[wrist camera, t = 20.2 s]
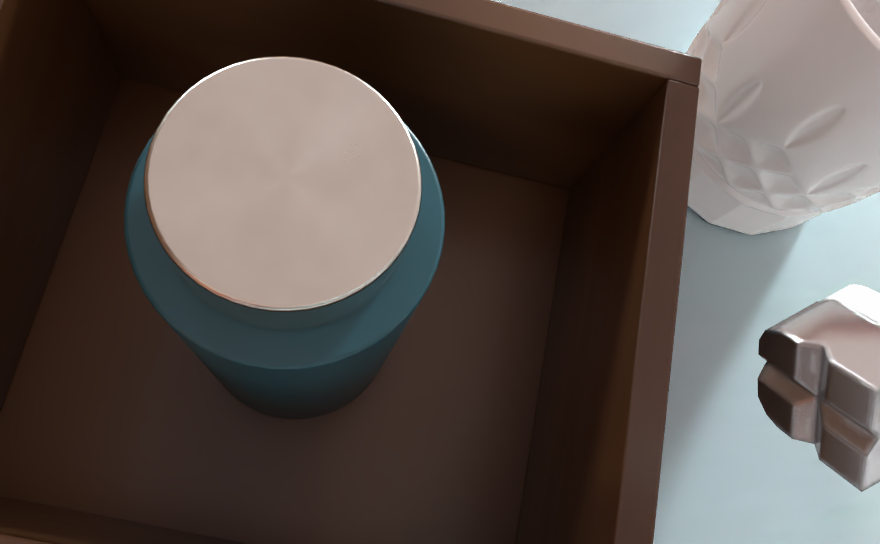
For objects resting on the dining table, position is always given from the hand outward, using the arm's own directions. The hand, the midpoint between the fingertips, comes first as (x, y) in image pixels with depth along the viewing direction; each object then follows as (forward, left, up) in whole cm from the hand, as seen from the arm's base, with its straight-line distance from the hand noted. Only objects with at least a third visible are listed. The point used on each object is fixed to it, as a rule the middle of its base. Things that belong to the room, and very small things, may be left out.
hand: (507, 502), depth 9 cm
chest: (+4, -4, -13) cm, 14 cm away
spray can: (+4, -4, -12) cm, 13 cm away
